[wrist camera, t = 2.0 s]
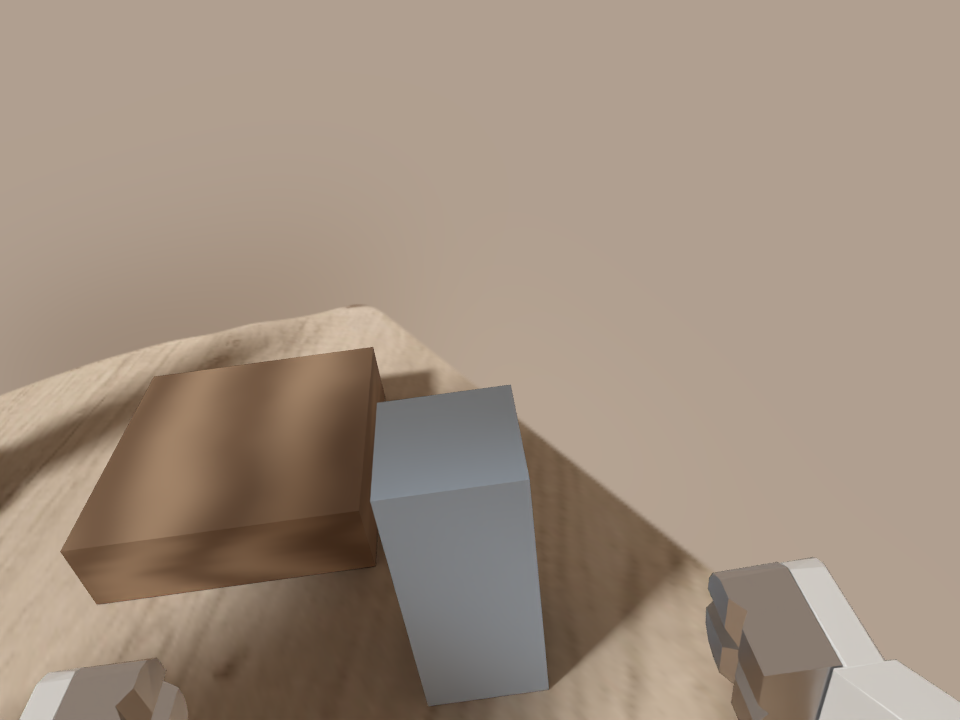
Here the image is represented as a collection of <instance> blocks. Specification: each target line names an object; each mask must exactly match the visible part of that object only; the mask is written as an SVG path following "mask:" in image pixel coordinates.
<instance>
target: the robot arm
mask: <svg viewBox="0 0 960 720" xmlns="http://www.w3.org/2000/svg"><path fill="white" fill-rule="evenodd" d="M708 590H709V592H710V594H711V597H712V599H713V602H712V603H711V604H710V605H709V606H708V607H706V628H707V635H708V641H709V644H710V648H711V651H712V654H713V657H714V660H715V663H716V665H717V668H718V670H719V673H721V674H722V675H723V676H724V677H726V678H727V679H728V680H729V681H731V682H732V683H733V684H734V685H733V693H732V701H731V703H732V706H733V708H734V711H735V713H736V716H737V718H738V720H960V702H959V701H958V700H956V699H955V698H953V697H952V696H950V695H949V694H947V693H946V692H944V691H943V690H941V689H940V688H938V687H937V686H935V685H934V684H932V683H931V682H929V681H928V680H926V679H925V678H923V677H922V676H920V675H919V674H917V673H916V672H914V671H913V670H911V669H910V668H908V667H907V666H905V665H904V664H902V663H901V662H899V661H898V660H896V659H895V660H885V659H884V658H883V656H882V655H881V653H880V652H879V650H878V648H877V647H876V645H875V644H874V642H873V641H872V639H871V637H870V636H869V634H868V633H867V631H866V629H865V628H864V626H863V625H862V623H861V622H860V620H859V618H858V617H857V615H856V614H855V612H854V610H853V609H852V607H851V606H850V604H849V602H848V601H847V599H846V598H845V596H844V595H843V593H842V591H841V590H840V588H839V586H838V585H837V583H836V582H835V580H834V579H833V577H832V576H831V574H830V572H829V571H828V569H827V567H826V566H825V564H824V563H823V562H821V561H820V560H819V559H818V558H813V557H811V558H805V559H800V560H794V561H788V562H783V563H779V562H775V563H768V564H762V565H756V566H751V567H745V568H739V569H733V570H727V571H721V572H715V573H712V575H711V576H710V577H709V585H708ZM166 671H167V670H166V669H165V668H164V666H163V665H162V664H161V662H160V661H159V660H158V659H157V658H151V659H144V660H137V661H129V662H122V663H115V664H108V665H100V666H93V667H83V668H76V669H70V670H63V671H56V672H50V673H47V674H46V675H45V676H44V677H43V678H42V679H41V680H40V681H39V682H38V683H37V685H36V686H35V688H34V690H33V692H32V694H31V696H30V699H29V701H28V703H27V705H26V707H25V709H24V711H23V713H22V715H21V717H20V719H19V720H188V708H187V705H186V701H185V697H184V695H183V694H182V692H181V691H180V689H179V688H178V687H176V686H174V685H172V684H170V683H167V682H165V681H163V680H164V677H165V674H166Z"/></svg>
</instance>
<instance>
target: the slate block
mask: <svg viewBox="0 0 960 720" xmlns="http://www.w3.org/2000/svg"><path fill="white" fill-rule="evenodd" d="M370 503H371V506H372V510H373V513H374V517H375V520H376V524H377V527H378V531H379V534H380V538H381V541H382V545H383V549H384V552H385V556H386V559H387V563H388V566H389V570H390V573H391V577H392V580H393V584H394V587H395V591H396V594H397V598H398V602H399V605H400V609H401V612H402V616H403V619H404V623H405V626H406V630H407V633H408V637H409V640H410V644H411V648H412V651H413V655H414V658H415V662H416V665H417V669H418V672H419V676H420V679H421V683H422V686H423V690H424V693H425V697H426V701H427V704H428V706H434V705H442V704H449V703H456V702H463V701H470V700H478V699H485V698H492V697H499V696H506V695H513V694H521V693H528V692H535V691H542V690H549V685H548V674H547V663H546V652H545V641H544V630H543V619H542V608H541V597H540V586H539V575H538V565H537V554H536V543H535V532H534V521H533V510H532V499H531V488H530V479H529V474H528V469H527V464H526V459H525V454H524V449H523V444H522V439H521V434H520V429H519V424H518V419H517V414H516V409H515V405H514V399H513V394H512V389H511V385H504V386H498V387H490V388H482V389H475V390H468V391H460V392H453V393H446V394H438V395H431V396H424V397H416V398H409V399H401V400H394V401H387V402H379V403H377V410H376V425H375V439H374V454H373V468H372V483H371V497H370Z"/></svg>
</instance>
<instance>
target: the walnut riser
mask: <svg viewBox="0 0 960 720" xmlns="http://www.w3.org/2000/svg"><path fill="white" fill-rule="evenodd" d="M379 402H385V395H384V391H383V387H382V383H381V378H380V374H379V370H378V366H377V361H376V357H375V353H374V349H373V347H370V348H362V349H355V350H348V351H340V352H333V353H326V354H318V355H311V356H303V357H296V358H289V359H281V360H274V361H267V362H259V363H252V364H244V365H237V366H230V367H222V368H215V369H208V370H200V371H193V372H185V373H178V374H171V375H163V376H156V377H154V378H153V379H152V381H151V383H150V385H149V387H148V389H147V391H146V393H145V394H144V396H143V398H142V400H141V402H140V404H139V406H138V407H137V409H136V411H135V413H134V415H133V417H132V419H131V421H130V422H129V424H128V426H127V428H126V430H125V432H124V434H123V436H122V437H121V439H120V441H119V443H118V445H117V447H116V449H115V450H114V452H113V454H112V456H111V458H110V460H109V462H108V464H107V465H106V467H105V469H104V471H103V473H102V475H101V477H100V478H99V480H98V482H97V484H96V486H95V488H94V490H93V492H92V493H91V495H90V497H89V499H88V501H87V503H86V505H85V506H84V508H83V510H82V512H81V514H80V516H79V518H78V520H77V521H76V523H75V525H74V527H73V529H72V531H71V533H70V535H69V536H68V538H67V540H66V542H65V544H64V546H63V548H62V549H61V551H60V552H61V553H62V555H63V556H64V558H65V559H66V561H67V562H68V563H69V565H70V566H71V568H72V569H73V571H74V572H75V574H76V575H77V576H78V578H79V579H80V581H81V582H82V584H83V585H84V587H85V588H86V589H87V591H88V592H89V594H90V595H91V597H92V598H93V600H94V601H95V603H96V604H104V603H111V602H118V601H126V600H133V599H140V598H147V597H155V596H162V595H169V594H176V593H184V592H191V591H198V590H206V589H213V588H220V587H227V586H235V585H242V584H249V583H256V582H264V581H271V580H278V579H285V578H293V577H300V576H307V575H315V574H322V573H329V572H336V571H344V570H351V569H358V568H365V567H373V566H376V549H377V530H378V527H377V524H376V520H375V517H374V513H373V510H372V506H371V503H370V497H371V483H372V468H373V454H374V439H375V425H376V410H377V403H379Z"/></svg>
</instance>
